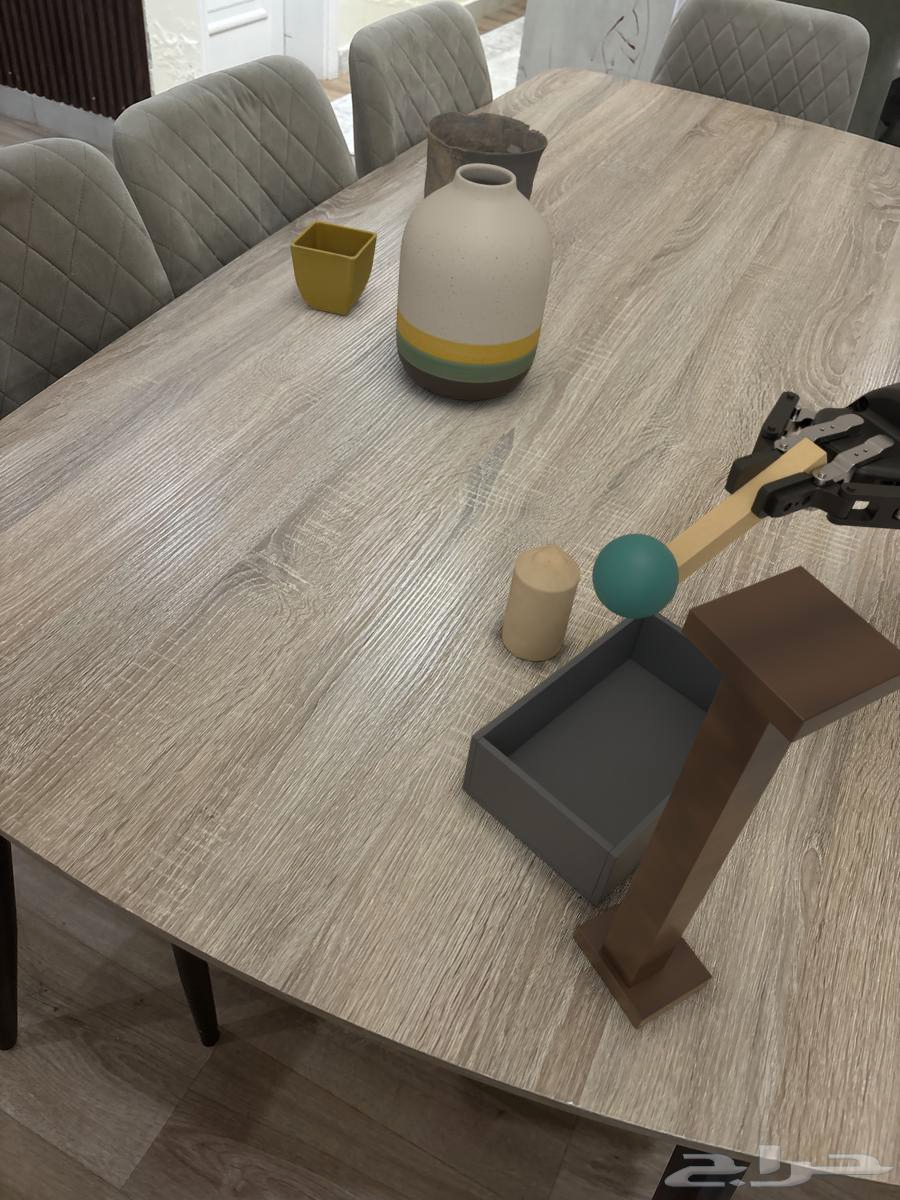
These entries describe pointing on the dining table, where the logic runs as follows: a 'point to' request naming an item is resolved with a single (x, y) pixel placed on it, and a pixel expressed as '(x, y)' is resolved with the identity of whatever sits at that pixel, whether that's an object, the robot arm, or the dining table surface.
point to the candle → (540, 602)
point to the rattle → (685, 544)
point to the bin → (596, 751)
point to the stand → (734, 767)
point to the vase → (472, 285)
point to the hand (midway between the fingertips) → (746, 492)
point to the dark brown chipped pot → (481, 148)
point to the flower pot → (332, 265)
